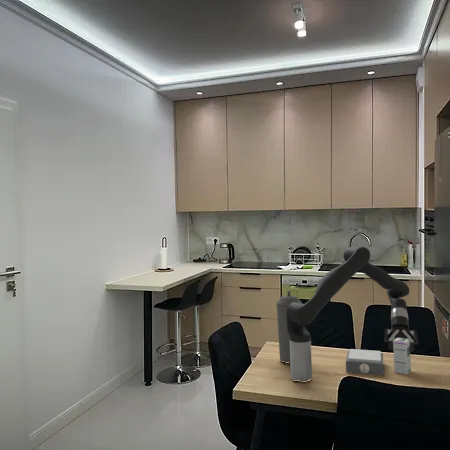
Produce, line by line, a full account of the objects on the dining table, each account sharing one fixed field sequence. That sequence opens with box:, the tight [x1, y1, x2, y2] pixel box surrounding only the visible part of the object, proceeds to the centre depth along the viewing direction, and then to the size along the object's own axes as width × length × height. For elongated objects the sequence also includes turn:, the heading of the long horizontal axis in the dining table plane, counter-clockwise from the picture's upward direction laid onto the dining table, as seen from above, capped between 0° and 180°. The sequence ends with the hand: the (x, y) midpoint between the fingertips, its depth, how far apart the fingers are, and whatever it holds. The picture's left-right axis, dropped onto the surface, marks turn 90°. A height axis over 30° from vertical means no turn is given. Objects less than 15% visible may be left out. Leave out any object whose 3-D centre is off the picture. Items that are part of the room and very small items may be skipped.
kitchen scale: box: [345, 348, 385, 377], centre depth 195 cm, size 17×16×6 cm
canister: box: [276, 290, 303, 363], centre depth 209 cm, size 13×13×35 cm
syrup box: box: [392, 338, 412, 376], centre depth 189 cm, size 6×6×14 cm
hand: (401, 350), depth 190 cm, fingers open, 8 cm apart
